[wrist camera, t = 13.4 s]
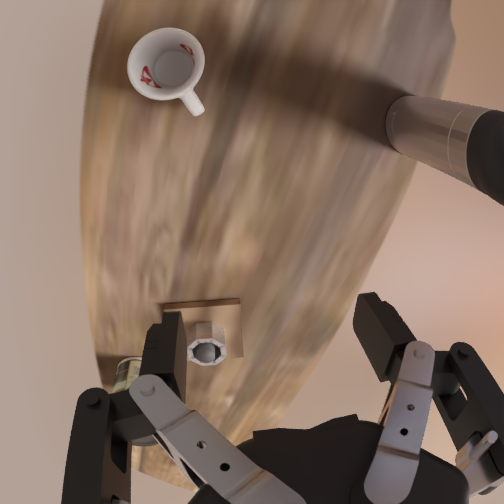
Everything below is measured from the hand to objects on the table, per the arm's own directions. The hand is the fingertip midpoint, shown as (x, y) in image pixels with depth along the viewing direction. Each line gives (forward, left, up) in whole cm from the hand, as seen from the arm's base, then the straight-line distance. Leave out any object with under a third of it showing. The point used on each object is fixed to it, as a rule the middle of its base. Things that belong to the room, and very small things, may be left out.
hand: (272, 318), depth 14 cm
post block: (+6, +27, -30) cm, 41 cm away
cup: (+6, -12, -30) cm, 33 cm away
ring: (+6, +27, -29) cm, 40 cm away
